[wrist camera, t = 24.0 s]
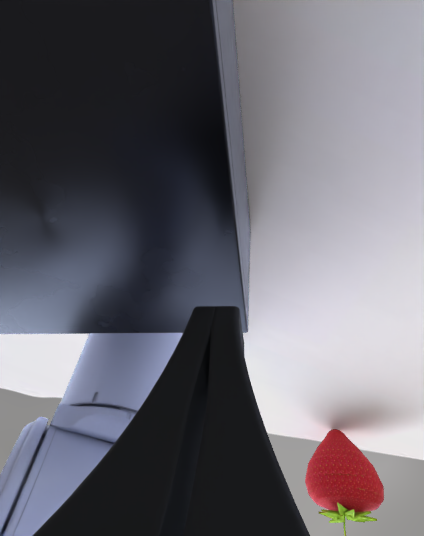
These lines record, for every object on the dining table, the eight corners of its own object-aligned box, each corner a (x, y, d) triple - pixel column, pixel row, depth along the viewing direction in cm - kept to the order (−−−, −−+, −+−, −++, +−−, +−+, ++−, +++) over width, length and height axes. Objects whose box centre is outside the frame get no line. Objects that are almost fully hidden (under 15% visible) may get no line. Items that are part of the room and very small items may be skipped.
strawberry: (357, 445, 41) (378, 555, 34) (293, 435, 41) (301, 543, 34) (381, 424, 37) (411, 544, 30) (310, 413, 37) (323, 531, 30)
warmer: (45, 241, 24) (-19, 334, 18) (-103, -18, 15) (-320, 13, 9) (250, 230, 22) (248, 333, 16) (226, -80, 12) (202, -89, 7)
